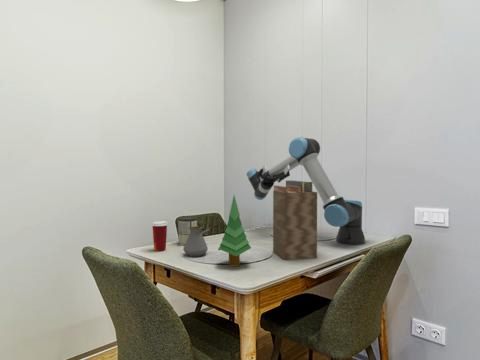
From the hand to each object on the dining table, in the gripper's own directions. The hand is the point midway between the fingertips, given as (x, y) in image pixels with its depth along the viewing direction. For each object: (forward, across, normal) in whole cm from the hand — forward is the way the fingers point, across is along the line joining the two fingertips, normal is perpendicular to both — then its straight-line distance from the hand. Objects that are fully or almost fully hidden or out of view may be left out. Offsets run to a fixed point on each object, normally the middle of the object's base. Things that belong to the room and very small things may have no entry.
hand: (277, 166), depth 185 cm
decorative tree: (+10, +33, -54) cm, 64 cm away
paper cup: (-19, +63, -37) cm, 76 cm away
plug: (+14, -2, -22) cm, 26 cm away
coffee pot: (-9, +42, -43) cm, 61 cm away
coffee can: (-29, +48, -32) cm, 64 cm away
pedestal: (+4, +2, -50) cm, 50 cm away
